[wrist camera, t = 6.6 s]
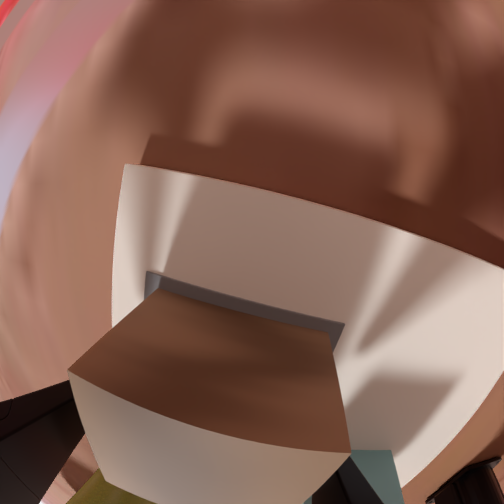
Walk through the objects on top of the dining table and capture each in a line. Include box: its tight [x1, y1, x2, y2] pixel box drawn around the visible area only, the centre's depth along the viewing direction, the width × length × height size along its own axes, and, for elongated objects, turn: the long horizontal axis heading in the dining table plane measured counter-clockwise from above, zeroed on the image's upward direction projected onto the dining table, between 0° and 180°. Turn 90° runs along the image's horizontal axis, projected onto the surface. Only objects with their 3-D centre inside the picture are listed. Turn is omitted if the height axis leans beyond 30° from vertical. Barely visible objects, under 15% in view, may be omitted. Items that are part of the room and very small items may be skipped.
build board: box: [112, 164, 504, 488], centre depth 10 cm, size 19×16×1 cm
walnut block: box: [67, 288, 351, 504], centre depth 7 cm, size 6×6×5 cm
